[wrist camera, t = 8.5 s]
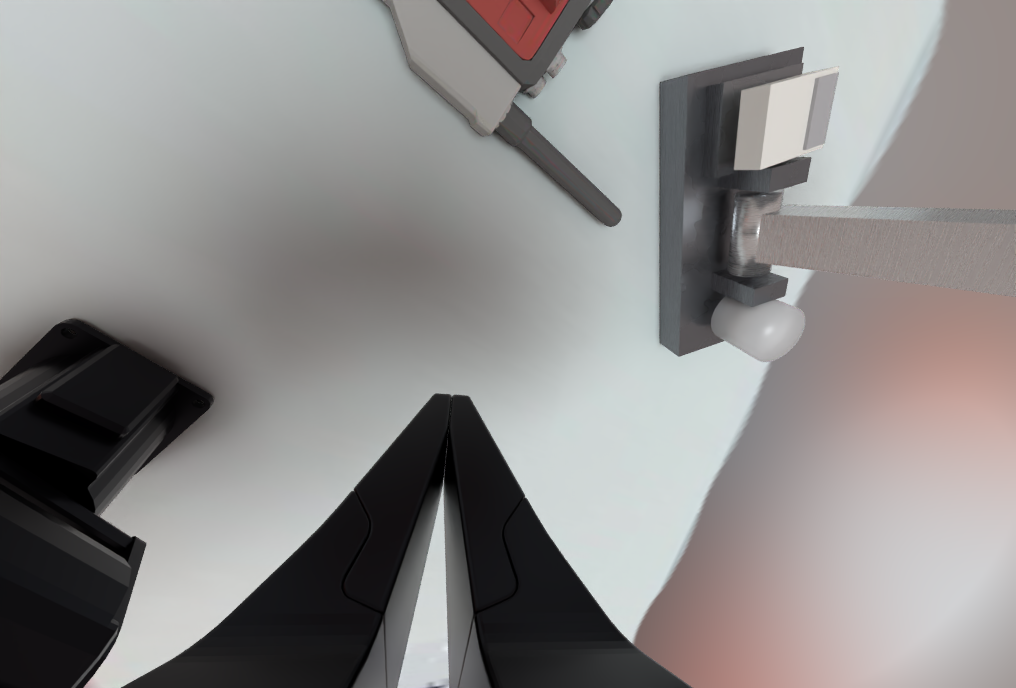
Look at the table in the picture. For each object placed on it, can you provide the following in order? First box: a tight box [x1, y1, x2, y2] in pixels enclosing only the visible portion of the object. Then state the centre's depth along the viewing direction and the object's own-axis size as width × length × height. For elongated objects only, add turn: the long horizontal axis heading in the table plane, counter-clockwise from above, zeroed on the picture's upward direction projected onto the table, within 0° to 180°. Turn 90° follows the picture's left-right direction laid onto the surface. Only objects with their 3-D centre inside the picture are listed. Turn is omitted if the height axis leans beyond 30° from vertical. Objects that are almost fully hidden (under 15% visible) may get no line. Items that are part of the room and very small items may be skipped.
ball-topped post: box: [727, 189, 1016, 297], centre depth 15 cm, size 3×4×13 cm
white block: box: [734, 66, 839, 170], centre depth 16 cm, size 4×3×1 cm
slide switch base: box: [660, 47, 811, 356], centre depth 20 cm, size 6×15×5 cm, turn 12°
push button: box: [711, 296, 805, 362], centre depth 21 cm, size 3×3×3 cm
